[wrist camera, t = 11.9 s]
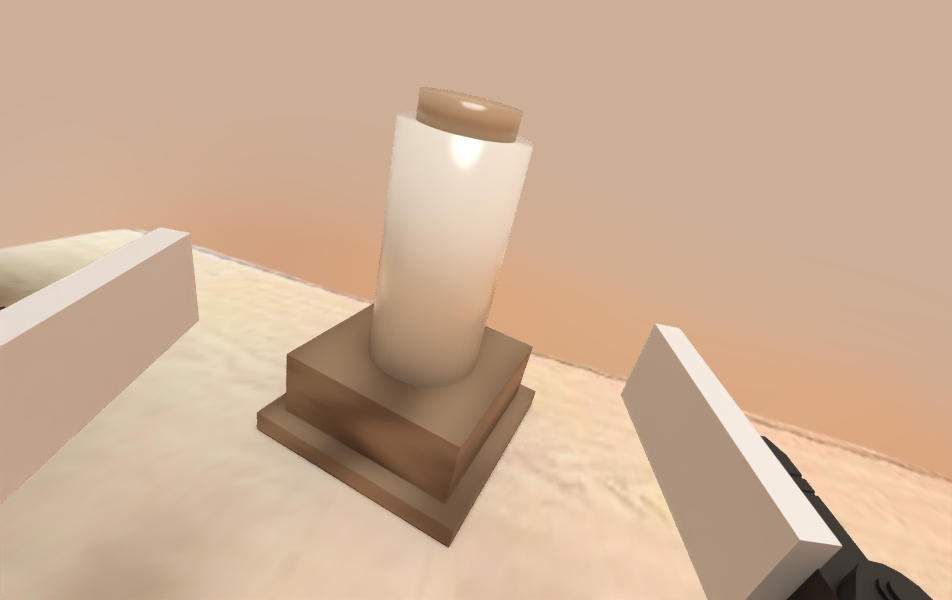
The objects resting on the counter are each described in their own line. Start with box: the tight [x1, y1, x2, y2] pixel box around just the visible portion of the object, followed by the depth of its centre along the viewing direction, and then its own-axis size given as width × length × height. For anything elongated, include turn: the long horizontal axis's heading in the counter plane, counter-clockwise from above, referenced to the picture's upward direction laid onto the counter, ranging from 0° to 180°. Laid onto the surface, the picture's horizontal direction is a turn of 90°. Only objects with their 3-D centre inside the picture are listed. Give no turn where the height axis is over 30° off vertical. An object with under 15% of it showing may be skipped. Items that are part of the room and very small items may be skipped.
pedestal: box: [257, 304, 536, 547], centre depth 26 cm, size 12×12×5 cm
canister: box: [369, 87, 533, 387], centre depth 22 cm, size 6×6×13 cm
